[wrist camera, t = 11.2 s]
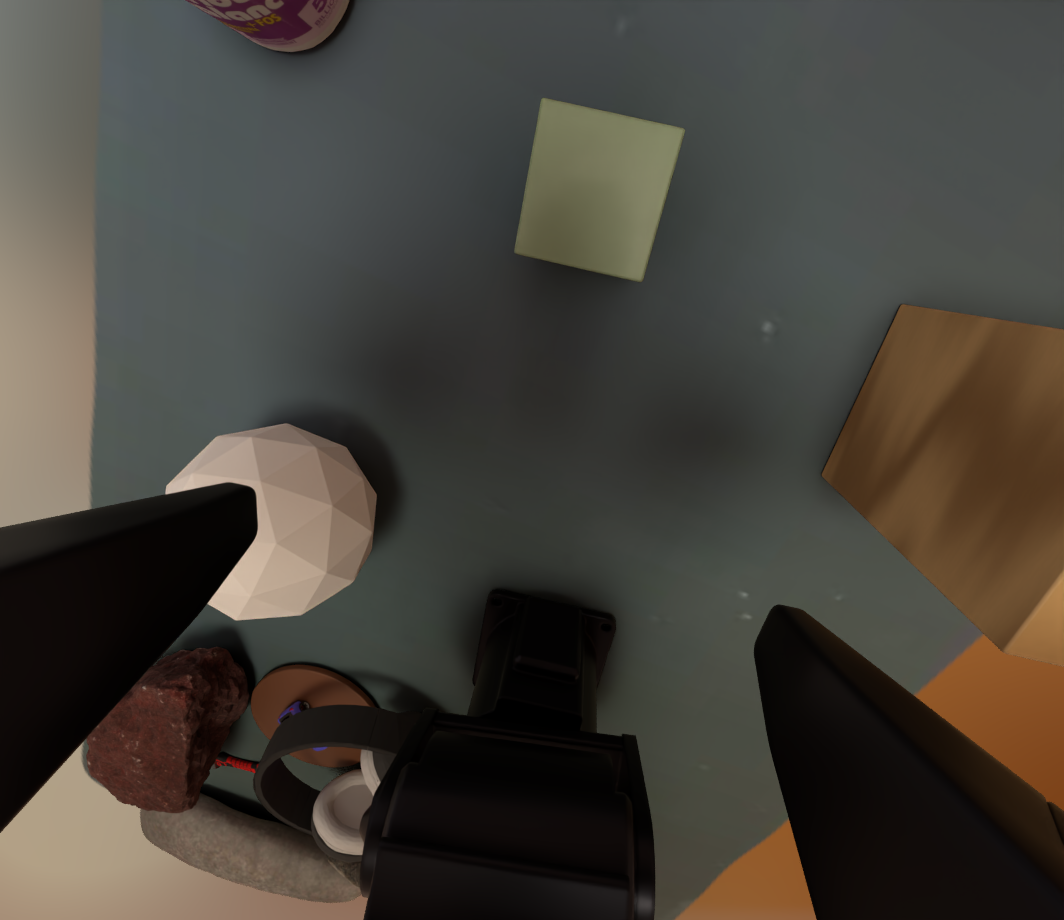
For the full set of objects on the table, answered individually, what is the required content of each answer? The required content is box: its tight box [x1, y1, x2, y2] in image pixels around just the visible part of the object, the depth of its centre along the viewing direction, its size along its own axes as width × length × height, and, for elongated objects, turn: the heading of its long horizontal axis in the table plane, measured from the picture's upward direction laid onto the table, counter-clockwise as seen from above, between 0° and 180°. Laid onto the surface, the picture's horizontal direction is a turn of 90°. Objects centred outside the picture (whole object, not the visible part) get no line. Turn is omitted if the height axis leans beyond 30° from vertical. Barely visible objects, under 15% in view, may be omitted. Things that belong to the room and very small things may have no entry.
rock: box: [86, 647, 249, 813], centre depth 28 cm, size 11×6×8 cm
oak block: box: [822, 304, 1064, 666], centre depth 14 cm, size 7×7×10 cm
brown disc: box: [251, 665, 376, 767], centre depth 29 cm, size 8×8×2 cm
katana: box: [211, 752, 259, 773], centre depth 33 cm, size 13×2×1 cm, turn 90°
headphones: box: [253, 705, 422, 863], centre depth 29 cm, size 10×4×20 cm
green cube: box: [514, 98, 685, 282], centre depth 16 cm, size 4×4×4 cm
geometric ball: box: [165, 423, 377, 620], centre depth 20 cm, size 8×8×8 cm
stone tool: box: [140, 792, 362, 903], centre depth 34 cm, size 17×4×5 cm
